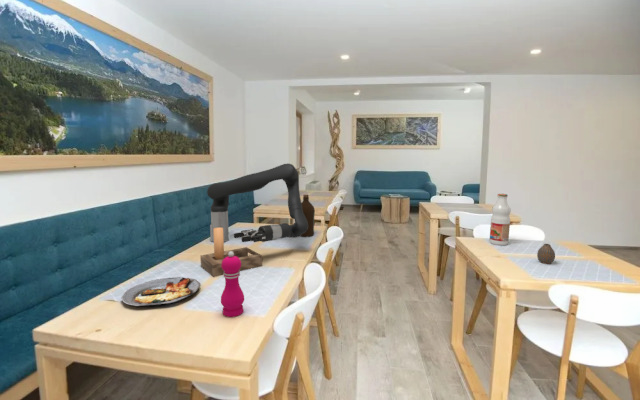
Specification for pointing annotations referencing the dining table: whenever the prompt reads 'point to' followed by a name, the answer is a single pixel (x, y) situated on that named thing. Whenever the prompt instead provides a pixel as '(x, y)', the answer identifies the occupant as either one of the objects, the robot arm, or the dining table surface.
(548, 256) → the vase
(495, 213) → the fruit juice
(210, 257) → the keyhole base
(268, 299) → the dining table surface
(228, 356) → the dining table surface
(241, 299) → the pepper mill
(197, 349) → the dining table surface
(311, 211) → the olive oil
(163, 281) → the food plate
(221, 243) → the peg
